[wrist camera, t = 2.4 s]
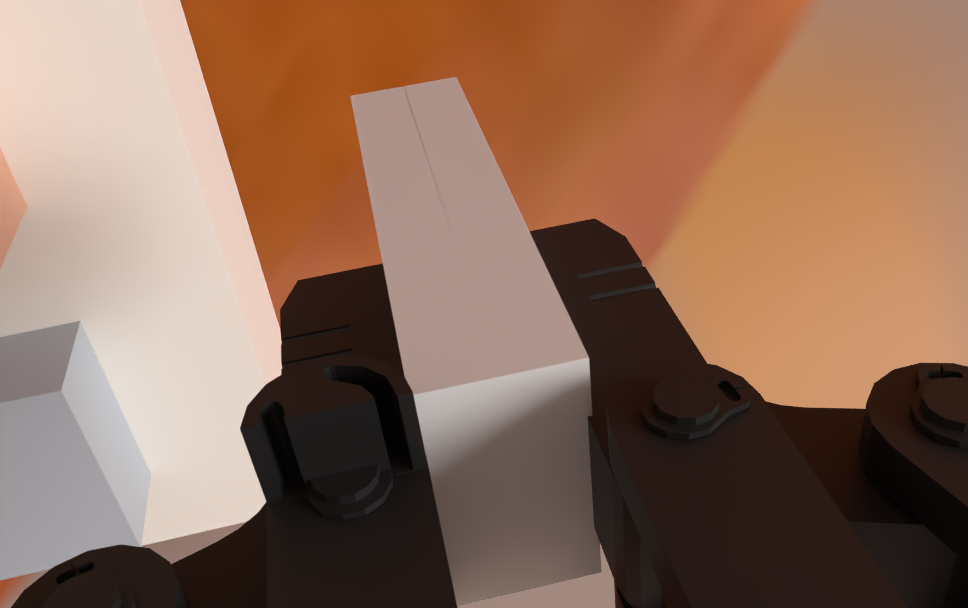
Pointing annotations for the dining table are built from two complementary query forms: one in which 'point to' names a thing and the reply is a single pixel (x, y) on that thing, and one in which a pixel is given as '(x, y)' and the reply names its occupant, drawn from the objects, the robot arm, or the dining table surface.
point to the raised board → (138, 241)
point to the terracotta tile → (9, 207)
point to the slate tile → (63, 454)
